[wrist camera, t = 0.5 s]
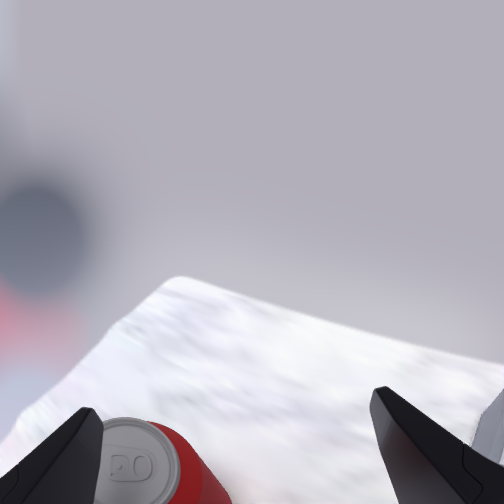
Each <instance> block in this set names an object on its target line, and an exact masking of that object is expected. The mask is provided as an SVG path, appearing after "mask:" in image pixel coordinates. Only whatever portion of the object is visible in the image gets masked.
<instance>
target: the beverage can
mask: <svg viewBox="0 0 504 504" xmlns="http://www.w3.org/2000/svg"><path fill="white" fill-rule="evenodd" d="M103 425H104V432H103V442H102V452H101V463H100V469H99V475H98V480H97V486H96V492H95V498H94V504H232V503H231V500H230V497H229V495H228V494H227V492H226V491H225V489H224V488H223V487H222V485H221V484H220V483H219V481H218V480H217V479H216V477H215V476H214V475H213V474H212V472H211V471H210V470H209V468H208V467H207V466H206V464H205V463H204V462H203V461H202V459H201V458H200V457H199V456H198V454H197V453H196V452H195V450H194V449H193V448H192V446H191V445H190V444H189V443H188V442H187V440H186V439H184V438H183V437H182V436H181V435H180V434H178V433H177V432H175V431H174V430H172V429H170V428H168V427H166V426H164V425H161V424H158V423H154V422H149V421H144V420H141V419H137V418H131V417H120V418H113V419H109V420H106V421H103Z"/></svg>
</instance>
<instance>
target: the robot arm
mask: <svg viewBox="0 0 504 504" xmlns="http://www.w3.org/2000/svg"><path fill="white" fill-rule="evenodd" d="M370 413H371V417H372V421H373V425H374V429H375V433H376V437H377V442H378V446H379V449H380V452H381V455H382V458H383V461H384V463H385V466H386V469H387V472H388V474H389V477H390V480H391V483H392V485H393V488H394V491H395V494H396V497H397V499H398V502H399V504H504V467H503V466H501V465H499V464H497V463H495V462H493V461H492V460H490V459H488V458H486V457H485V456H483V455H481V454H480V453H478V452H477V451H475V450H474V449H472V448H471V447H469V446H468V445H467V444H465V443H464V444H463V442H462V441H461V440H459V439H458V438H457V437H455V436H454V435H452V434H451V433H450V432H448V431H447V430H446V429H444V428H443V427H441V426H440V425H439V424H437V423H436V422H435V421H433V420H432V419H430V418H429V417H428V416H426V415H425V414H424V413H422V412H421V411H420V410H418V409H417V408H415V407H414V406H413V405H411V404H410V403H409V402H407V401H406V400H405V399H403V398H402V397H401V396H399V395H398V394H397V393H395V392H394V391H393V390H391V389H390V388H389V387H386V386H383V387H379V388H376V389H374V390H373V394H372V398H371V402H370ZM103 432H104V425H103V422H102V421H101V419H100V418H99V416H98V415H97V413H96V412H95V410H94V409H93V408H88V407H82V408H80V409H79V410H78V411H77V412H76V413H75V414H73V415H72V416H71V417H70V418H69V419H68V420H67V421H66V422H64V423H63V424H62V425H61V426H60V427H59V428H58V429H57V430H55V431H54V432H53V433H52V434H51V435H50V436H49V437H47V438H46V439H45V440H44V441H43V442H42V443H41V444H40V445H38V446H37V447H36V448H35V449H34V450H33V451H32V452H31V453H29V454H28V455H27V456H26V457H25V458H24V459H23V460H21V461H20V462H19V463H18V464H17V465H16V466H15V467H13V468H12V469H11V470H10V471H9V472H7V473H6V474H5V475H4V476H3V477H1V478H0V504H94V498H95V492H96V486H97V480H98V475H99V469H100V463H101V452H102V442H103Z"/></svg>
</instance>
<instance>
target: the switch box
mask: <svg viewBox="0 0 504 504" xmlns="http://www.w3.org/2000/svg"><path fill="white" fill-rule="evenodd" d="M471 448H472V449H474V450H475V451H477V452H478V453H480V454H481V455H483V456H485V457H486V458H488V459H490V460H492V461H493V462H495V463H497V464H499V465H501V466H503V467H504V389H503V390H502V392H501V393H500V394H499V395H498V396H497V398H496V399H495V400H494V401H493V402H492V404H491V405H490V406H489V407H488V408H487V409H486V411H485V412H484V413H483V414H482V415H481V419H480V422H479V425H478V428H477V432H476V435H475V438H474V441H473V444H472V446H471Z"/></svg>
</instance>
